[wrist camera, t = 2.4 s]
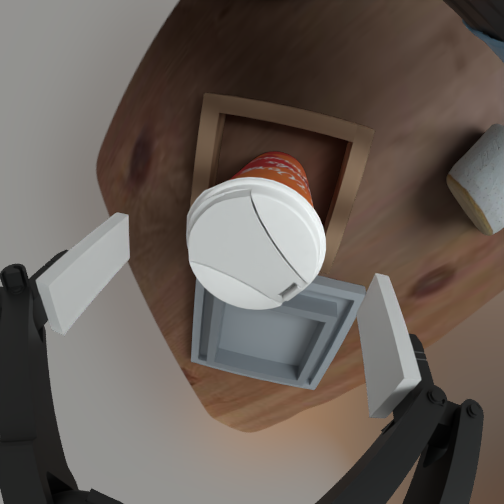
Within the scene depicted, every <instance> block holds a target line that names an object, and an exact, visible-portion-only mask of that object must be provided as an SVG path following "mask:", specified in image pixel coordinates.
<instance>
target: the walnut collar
mask: <svg viewBox="0 0 504 504" xmlns="http://www.w3.org/2000/svg"><path fill="white" fill-rule="evenodd" d="M226 114H231V115H237V116H243V117H249V118H254V119H260V120H265V121H270V122H275V123H279V124H284V125H288V126H293V127H297V128H301V129H306V130H310V131H314V132H318V133H322V134H325V135H329V136H333V137H336V138H340V139H343V140H347V141H348V143H347V147H346V151H345V155H344V158H343V162H342V166H341V169H340V173H339V176H338V180H337V183H336V187H335V190H334V194H333V197H332V200H331V204H330V207H329V210H328V214H327V217H326V220H325V224H324V227H323V228H324V233H325V237H326V252H325V258H324V261H323V264H322V267H321V269H320V271H319V272H321V273H325V274H329V272H330V270H331V267H332V264H333V262H334V259H335V256H336V254H337V251H338V248H339V245H340V242H341V240H342V237H343V234H344V231H345V228H346V225H347V222H348V219H349V216H350V213H351V210H352V207H353V204H354V201H355V198H356V195H357V192H358V188H359V185H360V182H361V179H362V175H363V172H364V169H365V165H366V162H367V158H368V155H369V151H370V148H371V144H372V141H373V137H374V133H375V130H373V129H371V128H370V127H367V126H364V125H360V124H357V123H354V122H351V121H347V120H344V119H340V118H337V117H333V116H329V115H326V114H322V113H318V112H314V111H310V110H306V109H301V108H297V107H293V106H288V105H283V104H278V103H273V102H268V101H263V100H257V99H251V98H245V97H239V96H232V95H225V94H218V93H204V97H203V104H202V111H201V118H200V125H199V132H198V140H197V148H196V156H195V164H194V173H193V183H192V192H191V203H190V208H191V206H192V205H193V203H194V202H195V200H196V199H197V198H198V197H199V196H200V195H201V194H202V193H203V192H204V191H205V190H207V189H209V188H212V187H214V186H215V183H216V176H217V169H218V162H219V155H220V149H221V142H222V136H223V129H224V123H225V117H226Z"/></svg>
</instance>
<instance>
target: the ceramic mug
mask: <svg viewBox="0 0 504 504" xmlns="http://www.w3.org/2000/svg"><path fill="white" fill-rule="evenodd" d="M446 179H447V186H448V188H449V189H450V191H451V193H452V194H453V196H454V197H455V199H456V200H457V201H458V203H459V204H460V206H461V207H462V209H463V210H464V211H465V213H466V214H467V216H468V217H469V218H470V219H471V221H472V222H473V223H474V225H475V226H476V227H477V228H478V230H479V231H480V232H481V233H483V234H484V235H489V236H490V235H492V234H494V233H496V232H498V231H499V230H501V229H502V228H503V227H504V126H503V125H501V124H494V125H492V126H491V127H490V128H489V129H488V130H487V131H486V132H485V133H484V134H483V136H482V137H481V138H480V139H479V140H478V141H477V142H476V143H475V144H474V145H473V146H472V147H471V148H470V150H469V151H468V152H467V153H466V154H465V155H464V156H463V157H462V158H461V159H459V160H458V162H457V163H456V164H455V165H454V166H453V167H452V169H451V170H450V172H449V173H448V175H447V178H446Z"/></svg>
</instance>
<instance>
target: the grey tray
mask: <svg viewBox="0 0 504 504" xmlns="http://www.w3.org/2000/svg"><path fill="white" fill-rule="evenodd" d="M365 295H366V290H365V286H361V285H356V284H352V283H348V282H343V281H339V280H335V279H331V278H326V277H322V276H318V275H317V276H316V277H315V279H314V280H313V281H312V282H311V284H309V285H308V286H307V287H306V288H305V289H304V290H303V291H301V292H300V293H298V294H297V295H296V296H294V297H293V298H292V299H290V300H289V301H284V302H283V303H282V305H281V306H279V307H275V308H271V309H264V310H253V309H245V308H240V307H236V306H234V305H231V304H228V303H226V302H224V301H222V300H220V299H218V298H217V297H216V296H214V295H213V294H211V293H210V292H209V291H208V290H207V289H206V288H205V287H204V286H203V285H202V284H201V283H200V282H199V280H198V279H197V277H196V288H195V301H194V316H193V332H192V351H191V362H194V363H198V364H201V365H205V366H208V367H212V368H216V369H220V370H223V371H227V372H231V373H235V374H239V375H243V376H248V377H252V378H256V379H261V380H265V381H270V382H275V383H280V384H285V385H290V386H295V387H301V388H306V389H312V390H315V388H316V386H317V385H318V383H319V382H320V380H321V378H322V377H323V375H324V373H325V372H326V370H327V368H328V367H329V365H330V363H331V361H332V360H333V358H334V356H335V355H336V353H337V351H338V349H339V347H340V346H341V344H342V342H343V340H344V338H345V337H346V335H347V333H348V331H349V329H350V327H351V325H352V323H353V322H354V320H355V318H356V316H357V314H356V313H357V311H358V309H359V307H360V305H361V303H362V301H363V299H364V297H365Z"/></svg>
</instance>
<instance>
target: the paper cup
mask: <svg viewBox="0 0 504 504" xmlns="http://www.w3.org/2000/svg"><path fill="white" fill-rule="evenodd" d="M186 240H187V247H188V251H189V263H190V266H191V268H192V270H193V272H194V274H195V276H196V277H197V279H198V280H199V282H200V283H201V284H202V285H203V286H204V287H205V288H206V289H207V290H208V291H209V292H210V293H211V294H213V295H214V296H216V297H217V298H218V299H220V300H222V301H224V302H226V303H228V304H231V305H234V306H236V307H240V308H245V309H253V310H264V309H271V308H275V307H279V306H281V305H282V303H283V302H284V301H289V300H290V299H292V298H293V297H294V296H296V295H297V294H298V293H300V292H301V291H303V290H304V289H305V288H306V287H307V286H308V285H309V284H311V282H312V281H313V280H314V279H315V277H316V276H317V274H318V273H319V271H320V269H321V267H322V264H323V261H324V258H325V252H326V237H325V233H324V228H323V225H322V223H321V220H320V218H319V216H318V215H317V213H316V211H315V210H314V207H313V202H312V198H311V193H310V189H309V185H308V181H307V177H306V174H305V171H304V169H303V167H302V166H301V164H300V163H299V162H298V161H297V160H296V159H295V158H294V157H292V156H290V155H289V154H286V153H283V152H276V151H274V152H267V153H264V154H262V155H260V156H258V157H256V158H255V159H254V160H252V161H251V162H250V163H248V164H247V165H246V166H245V167H244V168H242V169H241V170H240V171H239V172H238V173H237V174H235V175H234V176H233V177H232V178H231V179H230V180H229V181H225V182H223V183H221V184H219V185H217V186H214V187H212V188H209V189H207V190H205V191H204V192H203V193H202V194H201V195H200V196H199V197H198V198H197V199H196V200H195V202H194V203H193V205H192V206H191V208H190V210H189V212H188V215H187V230H186Z"/></svg>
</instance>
